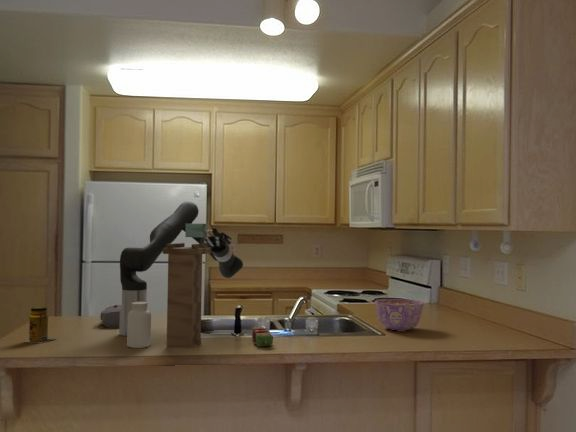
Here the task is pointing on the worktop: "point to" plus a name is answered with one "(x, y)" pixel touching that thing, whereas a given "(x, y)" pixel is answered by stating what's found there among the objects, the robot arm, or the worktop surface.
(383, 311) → the bowl of food
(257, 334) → the green red box
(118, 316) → the soft grey pack
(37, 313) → the condiment
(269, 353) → the worktop surface
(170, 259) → the brown wooden pedestal
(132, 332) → the pill bottle
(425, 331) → the worktop surface
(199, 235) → the pull block
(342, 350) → the worktop surface
